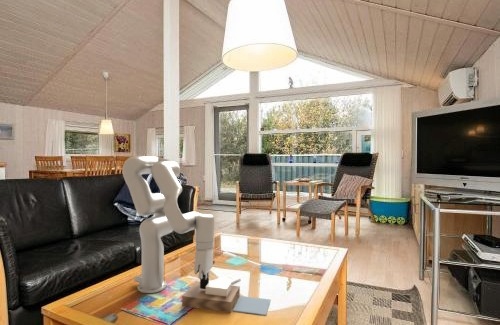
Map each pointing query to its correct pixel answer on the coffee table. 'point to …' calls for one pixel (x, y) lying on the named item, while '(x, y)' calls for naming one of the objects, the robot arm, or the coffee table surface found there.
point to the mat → (252, 305)
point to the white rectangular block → (218, 288)
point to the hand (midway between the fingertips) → (204, 288)
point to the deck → (210, 299)
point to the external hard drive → (228, 279)
